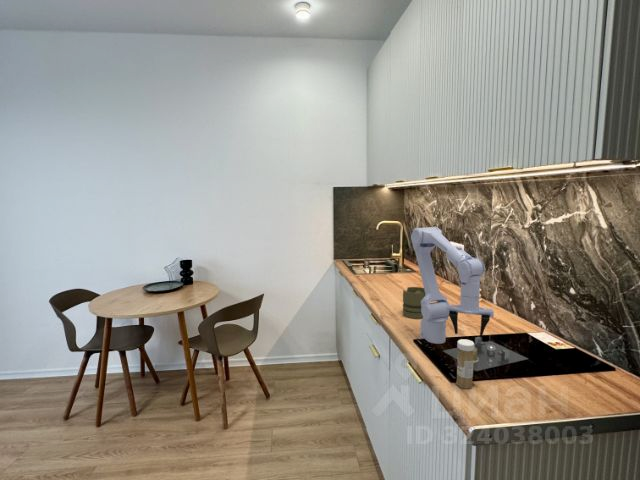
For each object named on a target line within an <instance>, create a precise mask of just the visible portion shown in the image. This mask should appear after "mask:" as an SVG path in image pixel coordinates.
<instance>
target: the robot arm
mask: <svg viewBox="0 0 640 480" xmlns="http://www.w3.org/2000/svg"><path fill="white" fill-rule="evenodd" d="M410 238H411V239H410V240H411V245H412V249H413V251H414V252H415V257H416V260H417V265H418V270H419V273H420V277H421V282H422V286H423V288H424V290H425V297H424V298H423V299H422V300H421V313H422V316H423V318H422V319H420V331H419V332H420V336H418V339H419V340H422V339H425V340H426V341H427V342H428V343H431V344H435V345H436V344H439V345H440V344H444V343H445V342H446V340H447V339H446V336H447V335H446V334H447V332H446V331H447V321H448V320H449V319H450V321H451V323H452V326H453V328H454V334H455V335H458V333H459V332H458V331H459V329H458V328H459V327H458V315H459V314H466V315H475V316H480V330H479V331H480V333H479V337H481V338H482V339H483V336H484V335H483V334H484V331H485V329H486V328H487V327H486V326H487V325H488V324H489V322H490V318H494V314H495V311H494V309H492V308H491V309H489V308H484V307H480V291H481V289H480V288H481V276H482V275H483V274H484V273H485V267H486V266H485V263H484V262H483V261H482V260H481V258H479V257H472V255H470V254H469V253H467V251H465V250H464V249H463V247H462V246H459V245H453V244H452V243H451V242H450V241H449V239H447V237H445V236H444V235H443V230H441V229H440V228H439V227H437V226H432V227H429V226H428V227H415V228H413V229H412V232H411V235H410ZM435 247H437V248H439V249H440V250H441V251H442V252H444V253H445V257H446V259H447V260H448V261H449V263H450V262H451V263H452V264H453V266H455V267H456V270H457V273H458V276H459V281H460V301H459V302H460V303H459V305H458V304H454V305H453V304H452V305H451V304H450V303H449V301H448V298H447V296H446V295H444V294H443V293H441V292H440V288H439V284H438V281H437V275H436V272H435V269H434V268H435V267H434V264H433V261H432V260H433V259H432V257H431V252H432V250H434V249H435Z"/></svg>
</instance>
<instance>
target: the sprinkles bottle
mask: <svg viewBox="0 0 640 480" xmlns="http://www.w3.org/2000/svg"><path fill="white" fill-rule="evenodd" d="M456 343H457V344H456V346H457V347H456V348H458V360H457V359H456V360H457V363H456V365H457V367H456V385H457V386H458V387H459V388H462V389H472V388H473V385H474V384H473V377H474V376H473V374H474V370H473V351H474V344H475V341H473V340H470V339H465V338H464V339H458V340H457V342H456Z"/></svg>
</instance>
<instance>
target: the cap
mask: <svg viewBox="0 0 640 480" xmlns="http://www.w3.org/2000/svg"><path fill="white" fill-rule="evenodd" d="M473 361H477V348H476V347H475V346H474V351H473Z"/></svg>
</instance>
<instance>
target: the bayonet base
mask: <svg viewBox="0 0 640 480" xmlns="http://www.w3.org/2000/svg"><path fill="white" fill-rule="evenodd" d="M474 346H475V347H476V348H477V361H473V371H476V372H479V371H483V370H488V369H490V368H495V367H500V366H504V365H507V364H512V363H517V362H520V361H525V360H529V358H528V357H526V356H524V355H521V354H520V353H517V352H515V351H513V350H511V349H508V348H507V347H504V346H503V345H501V344H498V343H496V342H494V341H492V340H489V341H483V337H482V338H481V337H480V336H477V337H474ZM442 352H444V353H445V354H447V355H449V356H451V357H452V358H453V359H455V360H458V347H455V348H450V349H444V350H442Z"/></svg>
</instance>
